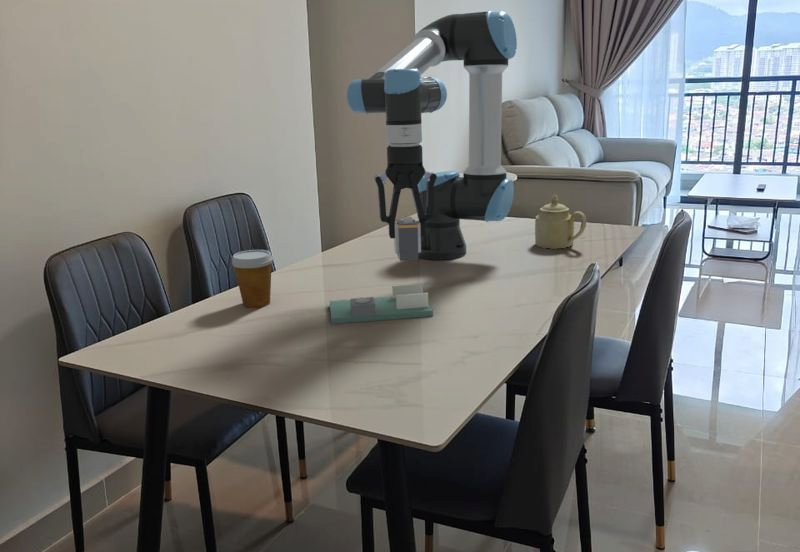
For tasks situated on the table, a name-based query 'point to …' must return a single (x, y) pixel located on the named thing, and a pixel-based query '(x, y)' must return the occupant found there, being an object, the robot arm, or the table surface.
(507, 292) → the table surface
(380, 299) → the board
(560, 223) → the pale yellow ceramic pot
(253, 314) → the table surface
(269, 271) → the disposable coffee cup
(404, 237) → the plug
